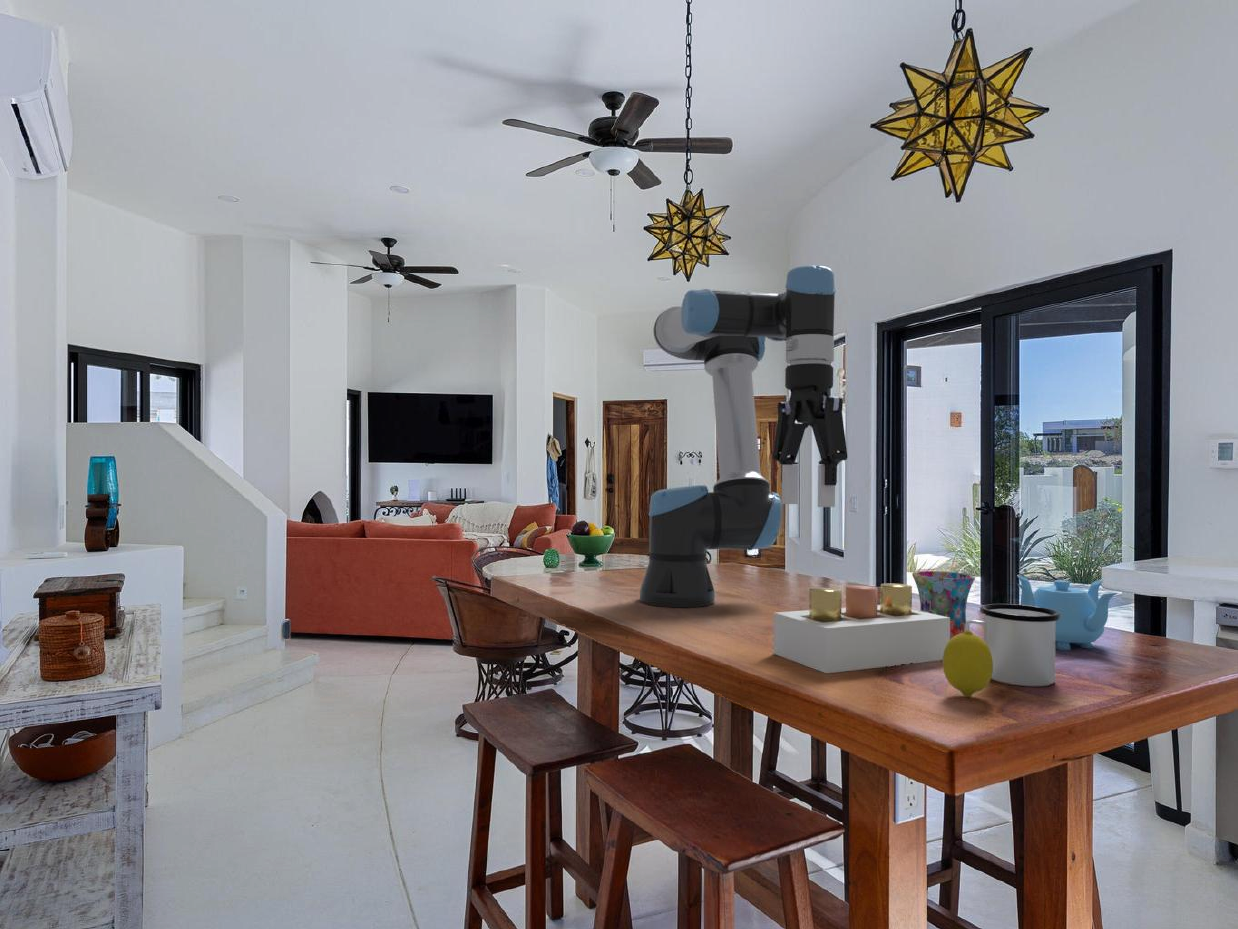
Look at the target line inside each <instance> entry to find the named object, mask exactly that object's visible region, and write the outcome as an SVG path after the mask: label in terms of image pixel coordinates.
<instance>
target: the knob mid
mask: <svg viewBox="0 0 1238 929" xmlns="http://www.w3.org/2000/svg"><path fill="white" fill-rule="evenodd" d="M878 596H879V595H878V587H875V586H870V585H846V586H845V607H846V616H848V617H852V618H855V619H859V620H860V619H872V618H877V605H878Z"/></svg>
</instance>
